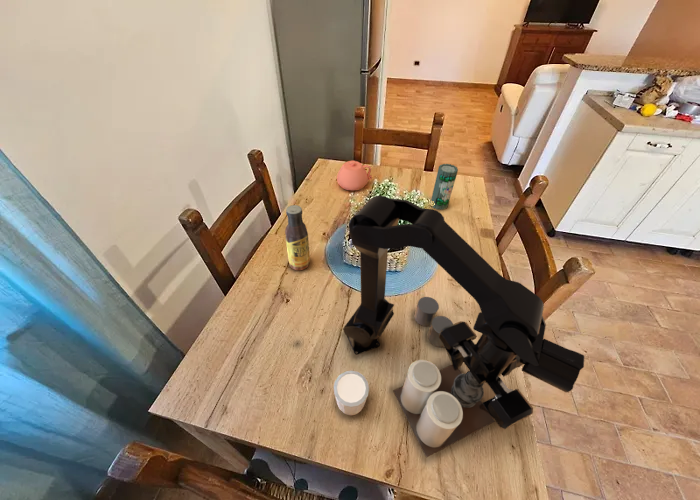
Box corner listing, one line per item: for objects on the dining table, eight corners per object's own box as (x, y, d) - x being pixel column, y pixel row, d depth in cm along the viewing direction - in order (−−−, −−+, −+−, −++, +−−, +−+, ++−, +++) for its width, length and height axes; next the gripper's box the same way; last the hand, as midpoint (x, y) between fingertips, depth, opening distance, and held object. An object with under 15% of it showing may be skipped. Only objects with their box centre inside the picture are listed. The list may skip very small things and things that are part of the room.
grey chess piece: (483, 406, 63) (505, 381, 55) (457, 412, 62) (474, 388, 54) (470, 378, 67) (487, 351, 59) (445, 383, 66) (459, 356, 58)
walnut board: (425, 458, 57) (426, 457, 57) (392, 391, 66) (392, 390, 65) (494, 422, 61) (495, 421, 61) (454, 364, 70) (455, 363, 70)
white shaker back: (409, 419, 61) (419, 395, 53) (395, 390, 65) (402, 364, 57) (435, 406, 63) (449, 382, 55) (419, 379, 67) (430, 353, 58)
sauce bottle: (297, 274, 89) (288, 221, 75) (285, 263, 92) (274, 209, 78) (315, 264, 92) (310, 210, 78) (303, 253, 95) (296, 199, 81)
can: (438, 211, 111) (447, 174, 101) (427, 202, 115) (435, 166, 105) (450, 206, 114) (461, 170, 103) (439, 198, 117) (448, 162, 107)
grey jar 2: (434, 350, 72) (439, 337, 68) (422, 333, 76) (427, 319, 71) (452, 343, 74) (458, 330, 69) (440, 326, 77) (445, 312, 73)
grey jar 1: (420, 330, 76) (425, 316, 72) (410, 314, 80) (414, 300, 75) (437, 323, 78) (443, 309, 73) (426, 308, 81) (431, 294, 77)
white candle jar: (335, 383, 66) (334, 369, 62) (367, 385, 66) (368, 370, 62) (333, 418, 62) (332, 405, 57) (367, 419, 61) (369, 407, 57)
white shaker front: (427, 453, 57) (441, 433, 49) (410, 420, 61) (420, 397, 53) (453, 439, 59) (471, 418, 50) (436, 408, 63) (450, 383, 54)
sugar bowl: (335, 177, 127) (335, 154, 120) (369, 176, 128) (370, 153, 121) (338, 194, 118) (337, 170, 111) (374, 192, 120) (375, 168, 113)
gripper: (578, 383, 47) (534, 417, 58) (494, 293, 60) (471, 335, 71) (523, 413, 44) (487, 443, 55) (446, 311, 57) (430, 352, 67)
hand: (468, 387), depth 62 cm, fingers closed on grey chess piece, 8 cm apart
